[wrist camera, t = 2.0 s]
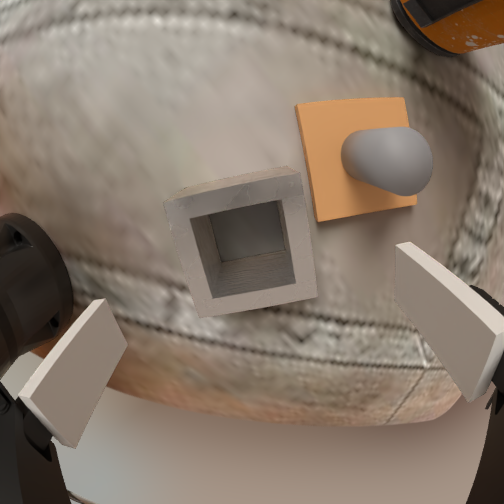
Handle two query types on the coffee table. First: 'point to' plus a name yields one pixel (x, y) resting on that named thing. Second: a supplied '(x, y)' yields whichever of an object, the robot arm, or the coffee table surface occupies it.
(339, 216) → the block
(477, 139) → the coffee table surface
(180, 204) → the grey hollow block
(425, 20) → the canister
